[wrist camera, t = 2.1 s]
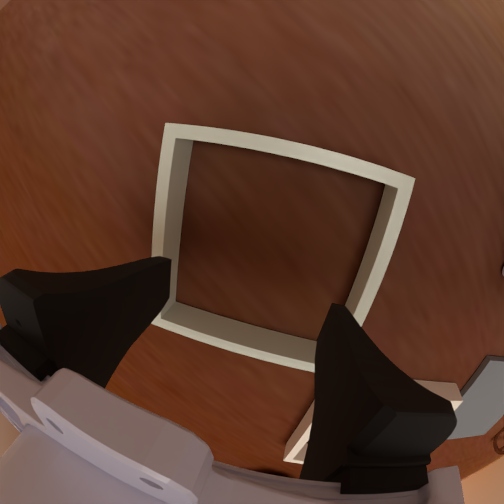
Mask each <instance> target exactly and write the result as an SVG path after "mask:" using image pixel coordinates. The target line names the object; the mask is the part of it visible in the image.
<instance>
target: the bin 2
mask: <svg viewBox="0 0 504 504" xmlns="http://www.w3.org/2000/svg"><path fill="white" fill-rule="evenodd" d="M413 380H414V379H413ZM414 381H416V382H417V383H419V384H420V385H422V386H423V387H425V388H427V389H428V390H430V391H431V392H433V393H435V394H437V395H439V396H441V397H443V398H445V399H447V400H449V401H451V403H452V406H453V409H454V411H455V410H456V409H457V408H458V406H459V405H460V404H461V403H462V402H463V399H462V396H461V394H460V391H459V389H458V387H457V384H456V383H449V382H435V381H424V380H414ZM313 411H314V401H313V403H312V404H311V406H310V408H309V409H308V411H307V412H306V414H305V416H304V417H303V419H302V420H301V422H300V423H299V425H298V427H297V428H296V430H295V431H294V433H293V434H292V436H291V437H290V439H289V440H288V442H287V443H286V448H285V454H284V459H283V461H287V462H293V463H300V464H303V463H304V459H305V454H306V450H307V446H308V444H307V443H306V442H307V441H308V440H309V436H310V430H311V424H312V418H313Z"/></svg>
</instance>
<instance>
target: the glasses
mask: <svg viewBox="0 0 504 504" xmlns="http://www.w3.org/2000/svg"><path fill="white" fill-rule="evenodd" d="M503 431H504V428H502V429H501V430H500V431H499V432H498V433H497V435H496V436H495V438H494V442H493V445H494V449H495V451H496V452H497V453H498V454H500V455H502V454H504V451H502V450H504V446H503V447H501V448H500V449H499V448H498V446H497V439H498V437H499V435H500V434H501V433H502V432H503Z"/></svg>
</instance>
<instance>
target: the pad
mask: <svg viewBox="0 0 504 504" xmlns="http://www.w3.org/2000/svg"><path fill="white" fill-rule="evenodd" d="M460 394H461V396H462V399H463V402H462V403H461V404H460V405H459V406H458V408H457V409H456V410H455V411H454V412H455V415H456V418H457V425H456V427H455V429H454V431H453V432H452V434H451V435H450V436H449V437H448V438H447V439H455V438H463V437H471V436H477V435H483V434H485V433H486V432H487V431H488V430H489V429H490V428H491V427H492V426H493V425H494V424H495V423H496V422H497V421H498V420H499V419H500V418H501V417H502V416H503V415H504V357H499V356H490V355H487V356H486V357H485V359H484V360H483V362H482V363H481V365H480V366H479V368H478V369H477V370H476V372H475V373H474V374H473V376H472V377H471V378H470V380H469V381H468V382H467V384H466V385H465V386H464V387H463V389H462V390H461V391H460Z"/></svg>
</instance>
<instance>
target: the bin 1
mask: <svg viewBox="0 0 504 504" xmlns="http://www.w3.org/2000/svg"><path fill="white" fill-rule="evenodd" d="M193 140H197V141H205V142H212V143H218V144H225V145H231V146H237V147H242V148H248V149H253V150H258V151H263V152H268V153H273V154H278V155H282V156H287V157H291V158H296V159H300V160H304V161H308V162H312V163H316V164H320V165H324V166H328V167H331V168H335V169H338V170H342V171H346V172H349V173H352V174H356V175H359V176H362V177H366V178H369V179H372V180H375V181H378V182H381V183H384V184H385V188H384V192H383V195H382V199H381V203H380V206H379V210H378V213H377V216H376V220H375V223H374V226H373V229H372V232H371V236H370V239H369V242H368V245H367V248H366V251H365V254H364V256H363V259H362V262H361V265H360V268H359V270H358V273H357V276H356V279H355V281H354V284H353V286H352V289H351V292H350V294H349V297H348V299H347V302H346V304H345V306H346V307H347V309H348V310H349V311H350V312H351V314H352V315H353V316H354V318H355V319H356V321H357V322H358V323H359V325H360V326H362V324H363V322H364V320H365V318H366V316H367V314H368V311H369V309H370V307H371V305H372V303H373V300H374V298H375V296H376V293H377V291H378V289H379V286H380V284H381V281H382V279H383V276H384V274H385V271H386V269H387V266H388V263H389V261H390V258H391V255H392V253H393V250H394V247H395V244H396V241H397V238H398V236H399V233H400V230H401V226H402V223H403V220H404V217H405V214H406V210H407V207H408V204H409V200H410V197H411V193H412V189H413V185H414V182H415V178H413V177H410V176H407V175H405V174H402V173H399V172H396V171H394V170H391V169H388V168H385V167H382V166H379V165H376V164H373V163H370V162H367V161H364V160H360V159H357V158H354V157H350V156H347V155H343V154H340V153H336V152H333V151H329V150H325V149H321V148H317V147H313V146H309V145H305V144H301V143H297V142H292V141H287V140H283V139H278V138H273V137H268V136H263V135H257V134H252V133H246V132H240V131H233V130H226V129H219V128H212V127H204V126H195V125H185V124H174V123H165V128H164V135H163V141H162V148H161V155H160V162H159V170H158V178H157V188H156V198H155V209H154V222H153V238H152V257H155V256H162V257H166V258H169V259H172V263H171V280H170V298H169V299H168V301H167V303H166V304H165V306H164V307H163V309H162V310H161V312H160V313H159V315H158V316H157V317H156V318H155V319H154V320H153V321H152V323H151V324H154V325H157V326H159V327H162V328H164V329H167V330H170V331H173V332H175V333H178V334H181V335H184V336H186V337H189V338H192V339H195V340H198V341H201V342H204V343H207V344H210V345H213V346H216V347H220V348H223V349H226V350H229V351H233V352H236V353H239V354H243V355H246V356H250V357H254V358H257V359H261V360H265V361H268V362H272V363H276V364H280V365H284V366H289V367H293V368H297V369H302V370H306V371H311V372H315V351H316V344H317V341H313V340H309V339H305V338H300V337H296V336H292V335H288V334H284V333H280V332H276V331H273V330H269V329H265V328H261V327H258V326H254V325H250V324H247V323H243V322H240V321H236V320H233V319H230V318H226V317H223V316H220V315H216V314H213V313H210V312H207V311H203V310H200V309H197V308H194V307H191V306H188V305H185V304H182V303H179V302H176V287H177V272H178V260H179V248H180V237H181V228H182V218H183V210H184V201H185V194H186V186H187V179H188V172H189V165H190V159H191V152H192V146H193Z"/></svg>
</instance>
